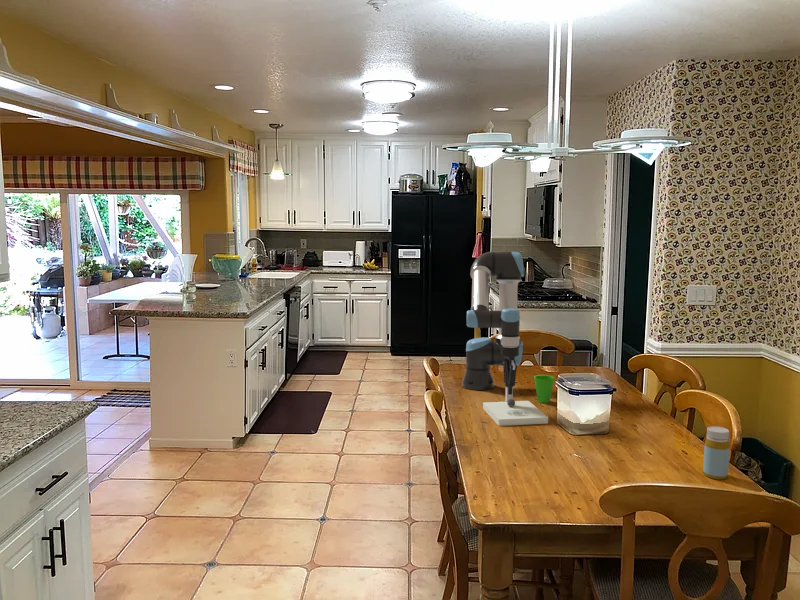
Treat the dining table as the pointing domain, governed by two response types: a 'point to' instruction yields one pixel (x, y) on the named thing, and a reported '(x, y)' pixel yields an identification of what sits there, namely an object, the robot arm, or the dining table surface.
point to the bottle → (716, 453)
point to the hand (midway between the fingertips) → (509, 401)
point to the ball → (511, 402)
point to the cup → (543, 387)
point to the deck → (515, 413)
